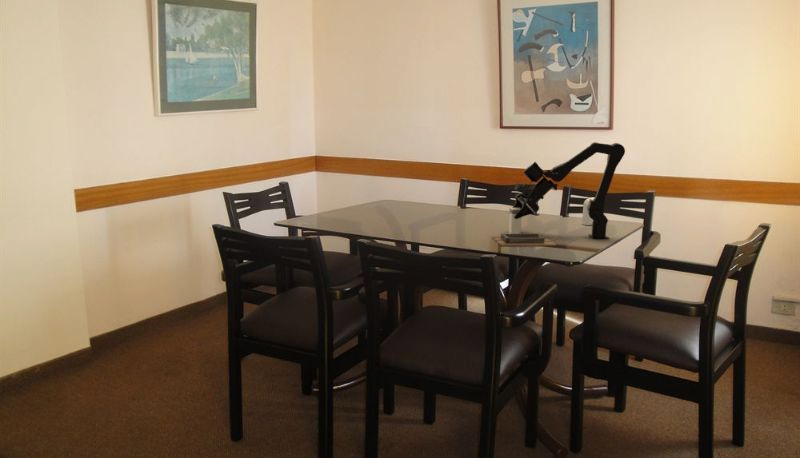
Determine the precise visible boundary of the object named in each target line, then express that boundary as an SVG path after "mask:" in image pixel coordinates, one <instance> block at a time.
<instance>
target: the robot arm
mask: <svg viewBox="0 0 800 458" xmlns="http://www.w3.org/2000/svg"><path fill="white" fill-rule="evenodd" d="M597 153H598V154H604V155H606V156H607V157H606V165H605V168H604V170H603V171H604V172H603V174H602V176H601V180H600V183H599V185H598V188H597V191H596V195H595V196H594V197H595V198H594V199H593V200H592V199H590V200H589V205H588V206H587V209H588V214H589V216H590V218H591V219H593V222H592V225H591V234H588V236H589V238H592V239H596V240H597V239H601V240H602V239H609V236H607V226H608V225H607V224H608V222H609V219H608V217H607V216H606V215H605V214H604V211H605V204H606V203H605V202H606V198H607V195H608V192H609V189H610V186H611V183H612V181H613V177H614V175H615V172H616V169H617V167H618V165H619V164H620V163H621V161H622V159H623V158H624V155H625V154H626V148H625V147H624V146H623V145H622V144H620V143H617V142H614V143H612V144H607V143H601V142H600V143H599V142H596V141H594V142H592V143H591V144H590V145H589V146H587V147H585V148H584V149H583V150H582V151H580V152H579V153H577V154H575V156H573V157H571V158H570V159H569V160H567V161H565V162H563V163H560V164H558V165H555V166H554V167H552V168H551V169H545V170H544V169H542V168H541V166H540V165H539V164H538V162H536V161H534V162H533V163H532V164H530V165H529V166H527V168H525V169H524V170H523V172H522V174H524V176H525V177H526V178H527V179H528V180H529V181H530V182H531V183H533V182H534V183H536V184H535V185H533V186H530V187H529V185H528V184H526V183H524V184H521V183H518V182H517V183H516V185H515V186H514V189H513V190H514V191H516V192H517V193H516V194H515V195H514V196H515V197H514V201H515V202H514V204H513V205H512V207H511V208H520V210H519V212H518V213H517V214H516V215H515V217H514V218H515V219H518V218H521V217H522V218H523V217H526V216H529V215H532V214H534V213H535V214H536V213H537V212H538V211H539V210H540V206H539V205H538V204H537V203H538V202H539V201H541V200H544V199H545V196H546V195H547V194H548V193H549V192H550V191H551V190H552V189H553V191H558V183H560V182H562V181H563V180H564V179H565V178H566V177H567V176H568V175H569V174H570V172H572V171H573V169H575V168H576V167H578V166H579V165H581V164H582V163H584V162H585V161H587V160H588V159H589V158H591V157H592V156H594V155H595V154H597ZM509 213H510V212H508V214H509ZM522 218H521V219H522Z"/></svg>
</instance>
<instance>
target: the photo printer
mask: <svg viewBox="0 0 800 458" xmlns="http://www.w3.org/2000/svg"><path fill="white" fill-rule="evenodd" d="M594 198H595V196H594V197H589V198H587V199H585V200H584V202H583V206H582V219H581V223H582V225H584V226H592V222H593V219H591V218H590V216H589V214H588V209H587V206H588V205H589V200H590V199H592V200H593V199H594Z"/></svg>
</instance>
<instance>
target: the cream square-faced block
mask: <svg viewBox="0 0 800 458" xmlns="http://www.w3.org/2000/svg"><path fill="white" fill-rule="evenodd" d="M508 210H509V212H510V213H509V212H508V214H509V217H508V234H522V218H523V217H521V218H518V219H515V218H514V217H515V215H516V214H517V213H518V212H519V210H520V208H512V207H509V209H508Z"/></svg>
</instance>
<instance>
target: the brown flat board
mask: <svg viewBox="0 0 800 458" xmlns="http://www.w3.org/2000/svg"><path fill="white" fill-rule="evenodd" d="M539 235H540V234H539V233H521V234H509V233H500V236H492V238H491V239H493V240H494V241H495V242H496V243H497V244H498V245H499V246H500V247H557V244H556V243H554V242H553V241H552V240H550V239H549V238H548V237H546V236H539Z"/></svg>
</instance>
